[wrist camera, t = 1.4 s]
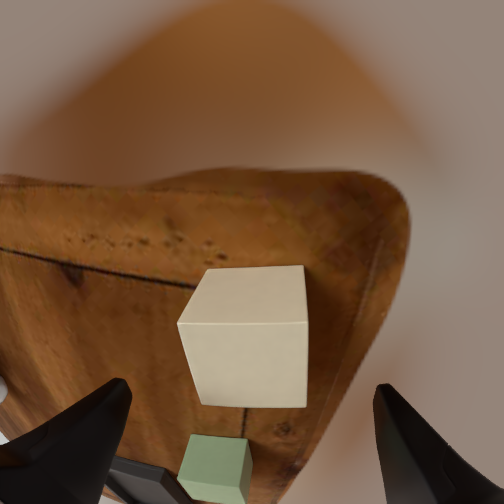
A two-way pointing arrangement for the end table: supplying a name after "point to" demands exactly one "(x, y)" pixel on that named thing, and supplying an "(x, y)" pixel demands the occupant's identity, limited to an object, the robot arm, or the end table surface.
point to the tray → (143, 484)
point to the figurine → (3, 389)
